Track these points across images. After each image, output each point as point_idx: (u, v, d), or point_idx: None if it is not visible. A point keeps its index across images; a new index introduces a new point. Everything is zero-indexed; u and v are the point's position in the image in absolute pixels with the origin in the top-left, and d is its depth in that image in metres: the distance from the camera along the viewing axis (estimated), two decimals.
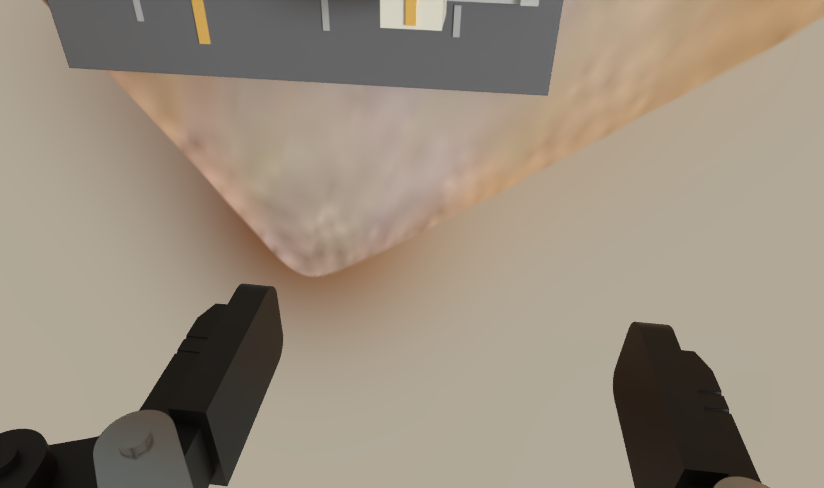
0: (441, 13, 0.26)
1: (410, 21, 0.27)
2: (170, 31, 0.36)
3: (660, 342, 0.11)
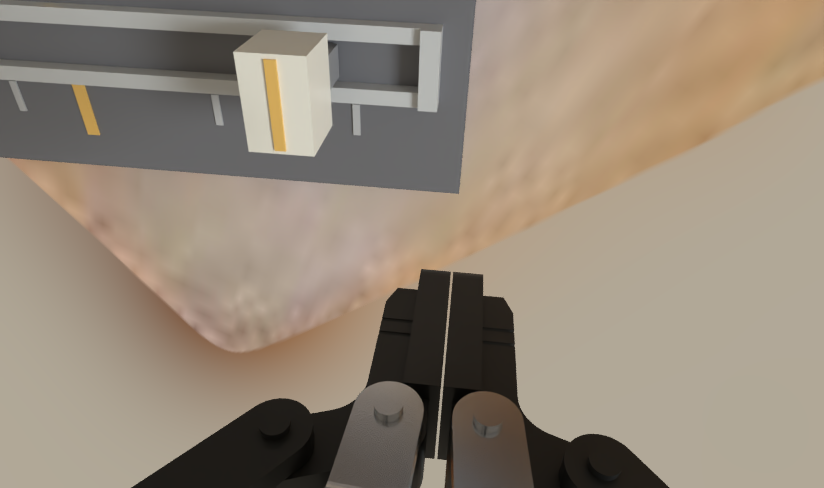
0: (312, 140, 0.24)
1: (279, 147, 0.24)
2: (56, 121, 0.33)
3: (467, 287, 0.12)
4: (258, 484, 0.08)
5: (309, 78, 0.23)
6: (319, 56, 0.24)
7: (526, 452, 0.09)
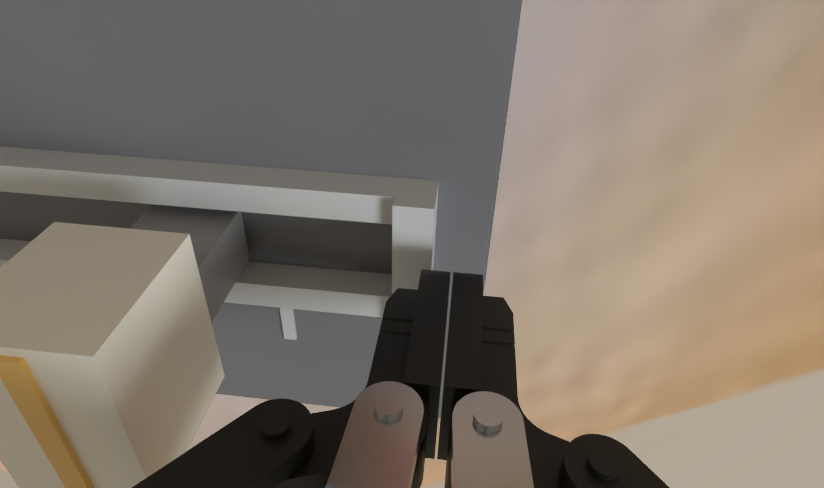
0: None
1: None
2: None
3: (467, 287, 0.12)
4: (259, 484, 0.08)
5: (119, 384, 0.10)
6: (160, 303, 0.11)
7: (526, 452, 0.09)
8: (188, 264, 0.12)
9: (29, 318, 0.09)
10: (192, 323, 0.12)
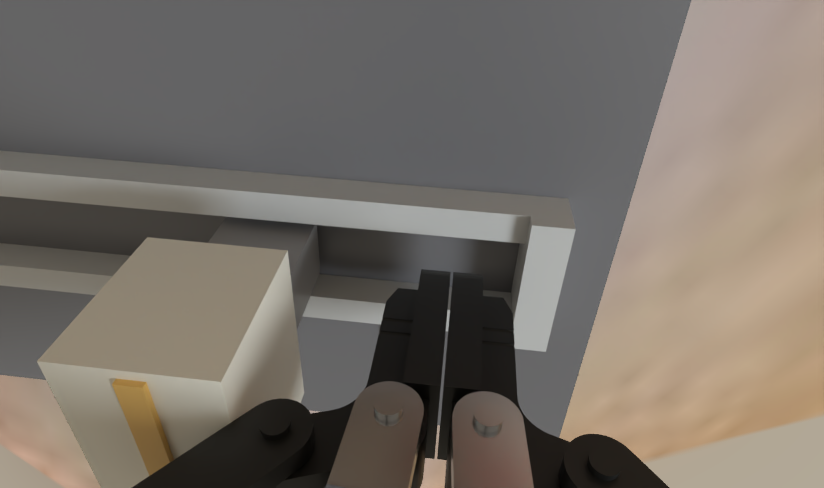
0: None
1: None
2: None
3: (467, 287, 0.12)
4: (258, 484, 0.08)
5: (237, 408, 0.09)
6: (266, 322, 0.10)
7: (526, 452, 0.09)
8: (285, 281, 0.11)
9: (146, 340, 0.09)
10: (286, 341, 0.12)
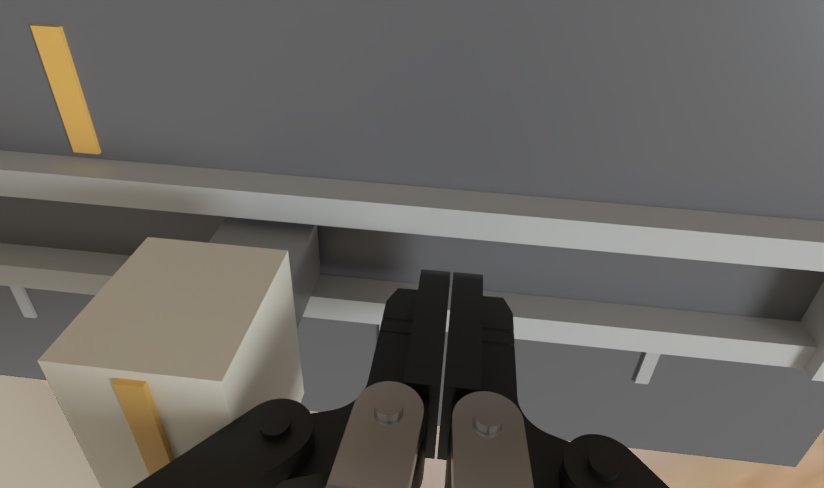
0: None
1: None
2: None
3: (467, 287, 0.12)
4: (259, 484, 0.08)
5: (237, 406, 0.09)
6: (267, 322, 0.10)
7: (526, 452, 0.09)
8: (286, 281, 0.11)
9: (146, 339, 0.09)
10: (286, 341, 0.12)
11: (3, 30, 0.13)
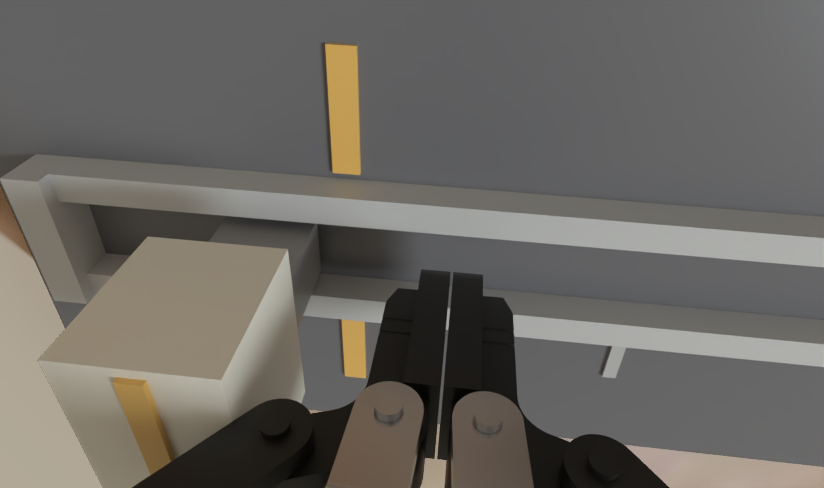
0: None
1: None
2: None
3: (467, 287, 0.12)
4: (259, 484, 0.08)
5: (237, 406, 0.09)
6: (266, 321, 0.10)
7: (526, 452, 0.09)
8: (286, 280, 0.11)
9: (146, 339, 0.09)
10: (286, 340, 0.12)
11: (291, 49, 0.13)
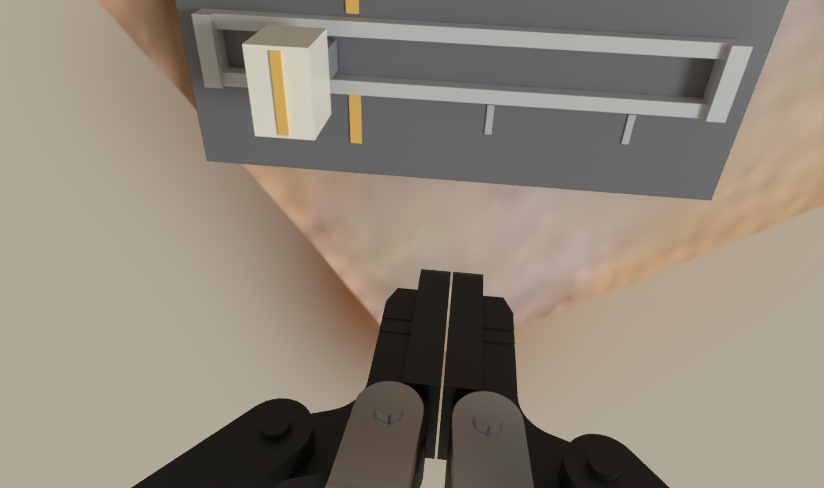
0: (312, 125, 0.27)
1: (283, 131, 0.27)
2: (321, 130, 0.34)
3: (467, 287, 0.12)
4: (258, 483, 0.08)
5: (311, 68, 0.25)
6: (319, 49, 0.26)
7: (526, 452, 0.09)
8: (325, 42, 0.27)
9: (278, 41, 0.25)
10: (325, 71, 0.28)
11: None
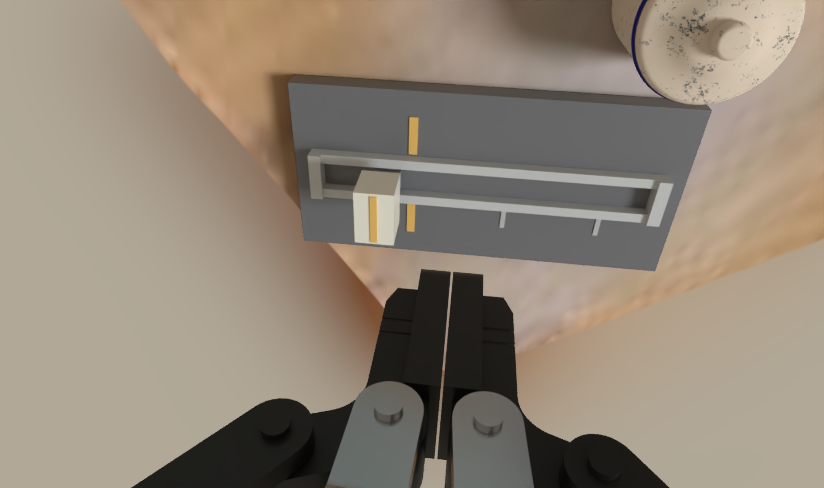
0: (392, 237, 0.42)
1: (373, 240, 0.42)
2: None
3: (467, 287, 0.12)
4: (258, 484, 0.08)
5: (394, 205, 0.41)
6: (397, 189, 0.42)
7: (526, 452, 0.09)
8: (399, 181, 0.43)
9: (374, 189, 0.41)
10: (398, 199, 0.43)
11: (399, 118, 0.44)
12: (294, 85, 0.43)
